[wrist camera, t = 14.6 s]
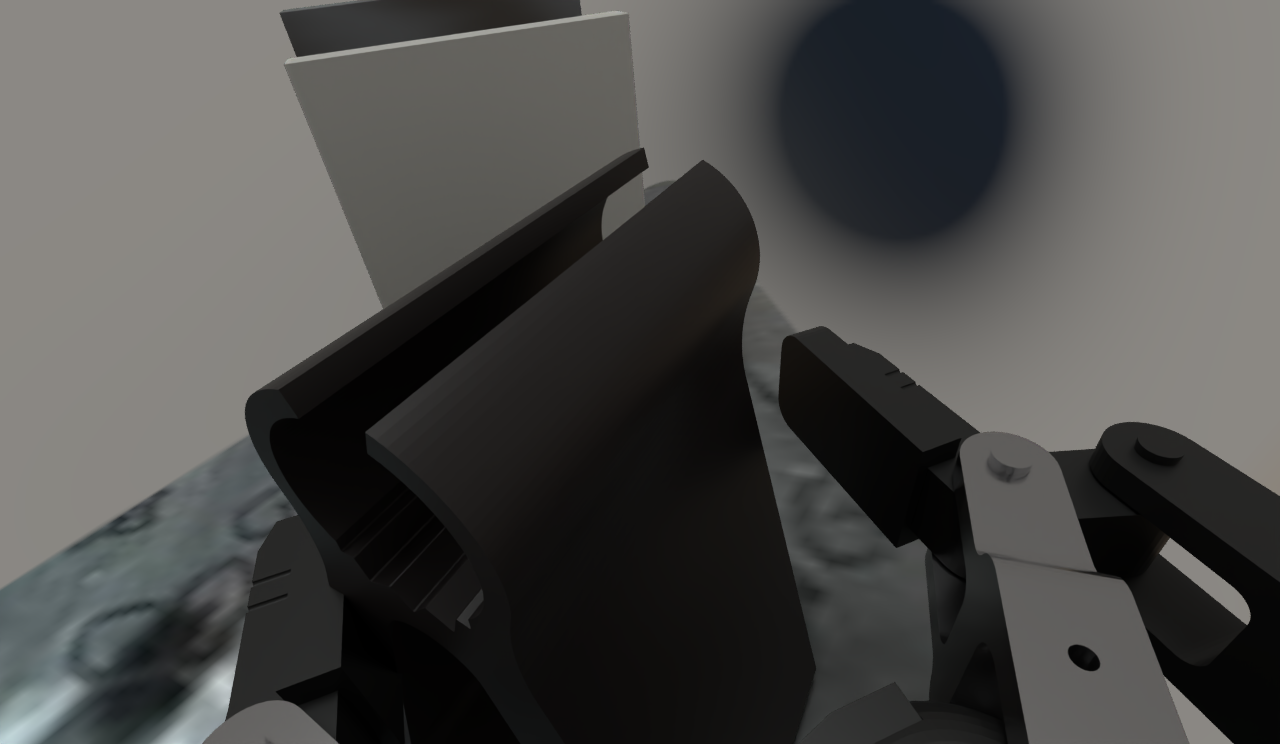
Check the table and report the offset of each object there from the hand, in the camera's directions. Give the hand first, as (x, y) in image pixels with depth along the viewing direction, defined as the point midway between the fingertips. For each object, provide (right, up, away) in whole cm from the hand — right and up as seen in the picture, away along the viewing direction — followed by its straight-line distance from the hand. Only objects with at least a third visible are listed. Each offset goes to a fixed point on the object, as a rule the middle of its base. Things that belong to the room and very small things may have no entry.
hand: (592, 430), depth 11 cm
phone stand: (0, -7, +3) cm, 8 cm away
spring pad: (-1, -1, +9) cm, 9 cm away
